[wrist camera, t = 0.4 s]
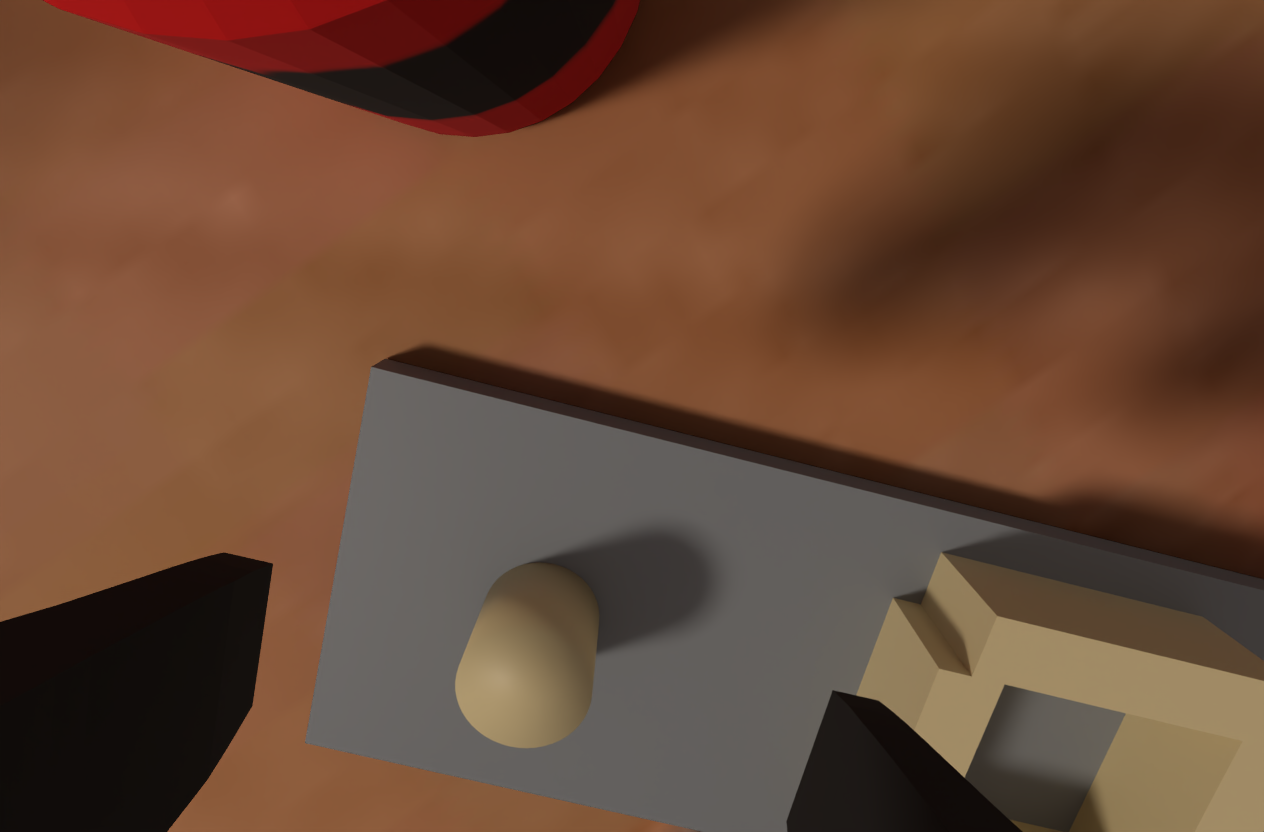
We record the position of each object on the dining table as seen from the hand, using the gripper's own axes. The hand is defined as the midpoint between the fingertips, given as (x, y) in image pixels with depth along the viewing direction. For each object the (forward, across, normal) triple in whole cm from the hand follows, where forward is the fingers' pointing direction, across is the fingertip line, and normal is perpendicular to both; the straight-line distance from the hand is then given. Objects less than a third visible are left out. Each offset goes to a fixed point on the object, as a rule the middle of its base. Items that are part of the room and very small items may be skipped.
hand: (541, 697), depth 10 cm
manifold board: (+10, -7, +4) cm, 12 cm away
